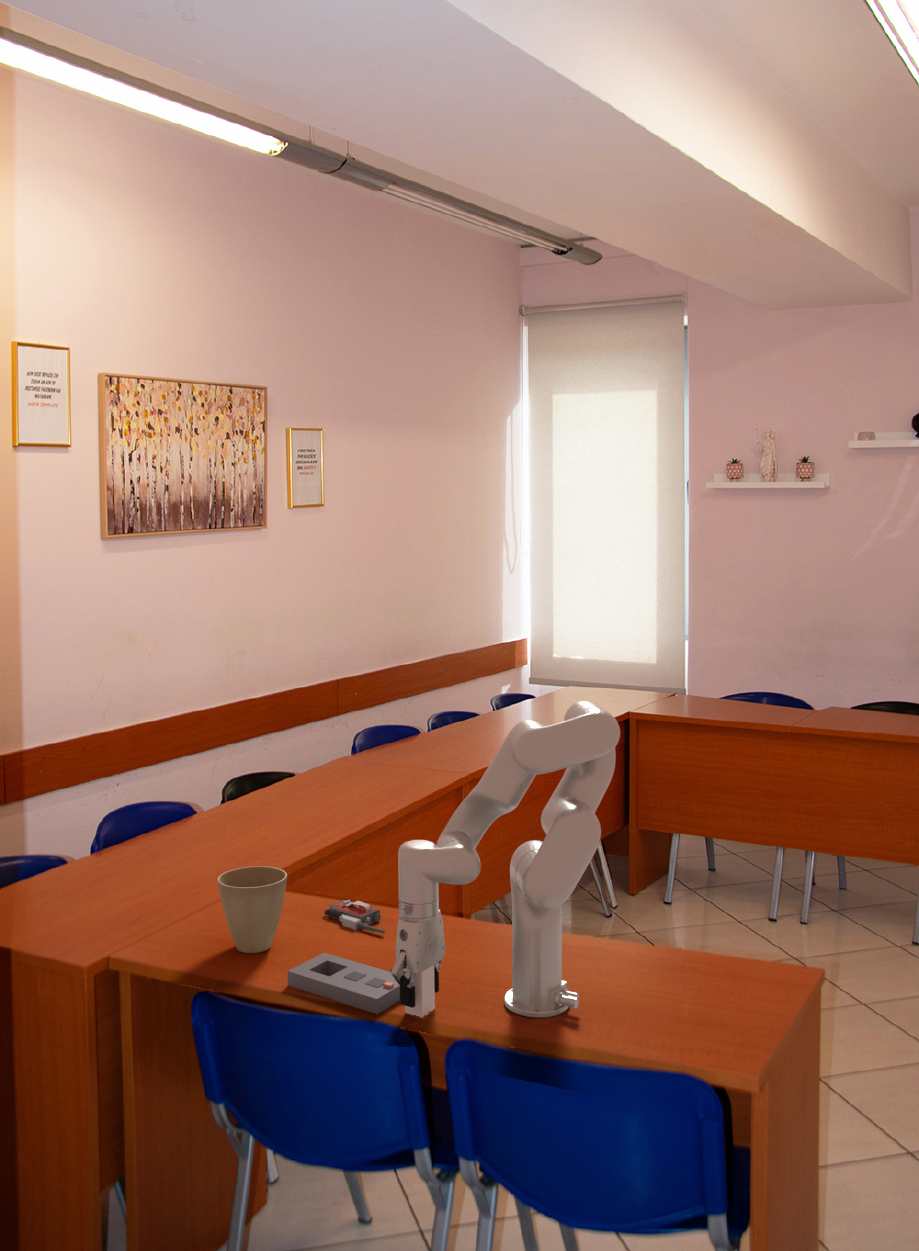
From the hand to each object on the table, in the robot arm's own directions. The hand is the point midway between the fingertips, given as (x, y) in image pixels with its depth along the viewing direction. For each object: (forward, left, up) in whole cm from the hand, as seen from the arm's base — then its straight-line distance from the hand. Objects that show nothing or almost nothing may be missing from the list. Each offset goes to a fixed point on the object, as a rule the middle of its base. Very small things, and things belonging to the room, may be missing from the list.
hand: (419, 997), depth 199 cm
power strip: (+17, 0, -3) cm, 17 cm away
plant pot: (+49, -5, -3) cm, 49 cm away
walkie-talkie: (+38, -29, -3) cm, 48 cm away
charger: (0, 0, -3) cm, 3 cm away
